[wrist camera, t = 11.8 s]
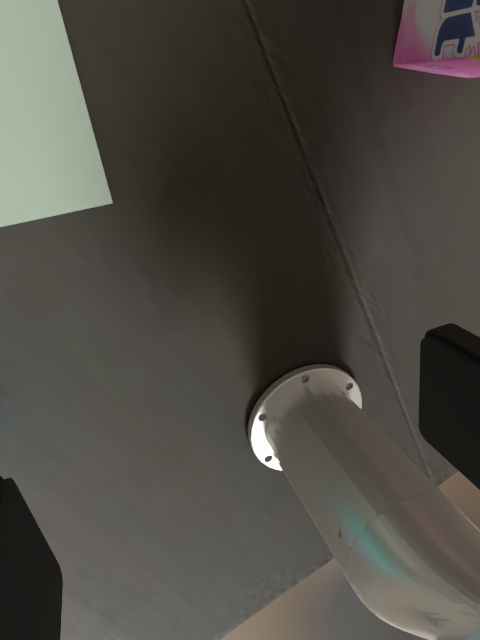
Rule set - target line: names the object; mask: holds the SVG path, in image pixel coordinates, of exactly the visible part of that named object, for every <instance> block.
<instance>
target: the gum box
mask: <svg viewBox="0 0 480 640" xmlns="http://www.w3.org/2000/svg"><path fill="white" fill-rule="evenodd" d="M393 66H394V67H399V68H405V69H411V70H417V71H422V72H429V73H434V74H442V75H449V76H456V77H463V78H475V77H480V0H404V5H403V11H402V17H401V22H400V27H399V32H398V37H397V42H396V47H395V52H394V57H393Z"/></svg>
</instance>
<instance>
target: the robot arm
mask: <svg viewBox="0 0 480 640" xmlns="http://www.w3.org/2000/svg"><path fill="white" fill-rule="evenodd" d="M361 409H362V397H361V392H360V389H359V386H358V385H357V383H356V382H355V381H354V379H353V378H352V377H351V376H350V375H349V374H348V373H346V372H345V371H343V370H342V369H340V368H338V367H335V366H332V365H326V364H315V365H308V366H304V367H301V368H298V369H295V370H293V371H291V372H289V373H287V374H285V375H284V376H282V377H281V378H279V379H278V380H276V381H275V382H274V383H273V384H272V385H271V386H270V387H269V388H267V389H266V391H265V392H264V393H263V394H262V395H261V397H260V398H259V399H258V401H257V403H256V404H255V406H254V408H253V410H252V413H251V415H250V418H249V423H248V440H249V443H250V447H251V448H252V450H253V452H254V454H255V456H256V457H257V458H258V459H259V460H260V462H262V463H263V464H264V465H266V466H267V467H270V468H272V469H275V470H281V471H283V472H284V474H285V475H286V477H287V479H288V480H289V482H290V484H291V485H292V487H293V489H294V490H295V492H296V494H297V495H298V497H299V499H300V500H301V502H302V504H303V506H304V507H305V509H306V511H307V512H308V514H309V516H310V517H311V519H312V521H313V522H314V524H315V526H316V527H317V529H318V531H319V532H320V534H321V536H322V537H323V539H324V541H325V542H326V544H327V546H328V547H329V549H330V551H331V552H332V554H333V556H334V557H335V559H336V561H337V562H338V564H339V566H340V567H341V569H342V571H343V572H344V574H345V576H346V577H347V579H348V581H349V582H350V584H351V586H352V587H353V589H354V591H355V592H356V594H357V595H358V597H359V598H360V599H361V601H362V602H363V603H364V604H365V606H366V607H367V608H368V609H369V610H371V612H373V613H374V614H375V615H376V616H377V617H379V618H380V619H382V620H383V621H385V622H387V623H388V624H390V625H392V626H394V627H397V628H399V629H401V630H403V631H406V632H409V633H411V634H414V635H417V636H420V637H423V638H426V639H428V640H480V530H479V529H478V528H477V527H476V526H475V525H474V524H473V523H472V522H471V521H470V520H469V519H468V518H467V517H466V516H465V515H464V514H463V513H462V512H461V511H460V510H459V509H458V508H457V507H456V506H455V505H454V504H453V503H452V502H451V501H450V500H449V499H448V498H447V497H446V496H445V495H444V494H443V493H442V492H441V491H440V489H439V488H438V487H437V486H436V485H435V484H434V483H433V482H432V481H431V480H430V479H429V478H428V477H427V476H426V475H425V474H424V473H423V472H422V471H421V470H420V469H419V468H418V467H417V466H416V465H415V464H414V463H413V462H412V461H411V460H410V459H409V458H408V457H407V456H406V455H405V454H404V453H403V452H402V451H401V450H400V449H399V448H398V447H397V445H396V444H395V443H394V442H393V441H392V440H391V439H390V438H389V437H388V436H387V435H386V434H385V433H384V432H383V431H382V430H381V429H380V428H379V427H378V426H377V425H376V424H375V423H374V422H373V421H372V420H371V419H370V418H369V417H368V416H367V415H366V414H365V413H364V412H363V411H362V410H361ZM419 429H420V432H421V434H422V436H423V438H424V439H425V440H426V441H427V442H428V443H429V444H430V445H431V446H432V447H434V448H435V449H436V450H437V451H438V452H439V453H440V454H441V455H442V456H443V457H444V458H446V459H447V460H448V461H449V462H450V463H451V464H452V465H453V466H454V467H455V468H457V469H458V470H459V471H460V472H461V473H462V474H463V475H464V476H465V477H466V478H467V479H469V480H470V481H471V482H472V483H473V484H474V485H475V486H476V487H477V488H478V489H480V337H478V336H476V335H474V334H472V333H470V332H469V331H467V330H465V329H463V328H461V327H459V326H457V325H455V324H452V323H451V324H446V325H443V326H440V327H437V328H434V329H431V330H429V331H427V332H426V334H425V338H424V339H422V341H421V348H420V393H419ZM62 586H63V581H62V573H61V569H60V566H59V564H58V562H57V560H56V558H55V556H54V554H53V552H52V551H51V549H50V547H49V545H48V543H47V541H46V539H45V538H44V536H43V534H42V532H41V530H40V528H39V526H38V524H37V523H36V521H35V519H34V517H33V515H32V513H31V511H30V510H29V508H28V506H27V504H26V502H25V500H24V498H23V497H22V495H21V493H20V491H19V489H18V487H17V485H16V483H15V482H14V480H13V479H12V478H7V479H4V480H3V478H2V477H1V476H0V640H60V631H61V609H62Z"/></svg>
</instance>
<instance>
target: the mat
mask: <svg viewBox="0 0 480 640" xmlns="http://www.w3.org/2000/svg"><path fill="white" fill-rule="evenodd" d="M112 203H113V202H112V198H111V195H110V191H109V187H108V184H107V180H106V176H105V173H104V169H103V165H102V162H101V158H100V154H99V151H98V147H97V143H96V140H95V136H94V132H93V129H92V125H91V121H90V118H89V114H88V110H87V107H86V103H85V99H84V96H83V92H82V88H81V85H80V81H79V77H78V74H77V70H76V66H75V63H74V59H73V56H72V52H71V48H70V45H69V41H68V37H67V34H66V30H65V26H64V23H63V19H62V15H61V12H60V8H59V4H58V1H57V0H0V227H3V226H8V225H12V224H17V223H22V222H27V221H31V220H36V219H41V218H45V217H50V216H55V215H60V214H64V213H69V212H74V211H78V210H83V209H88V208H93V207H97V206H102V205H107V204H112Z"/></svg>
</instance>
